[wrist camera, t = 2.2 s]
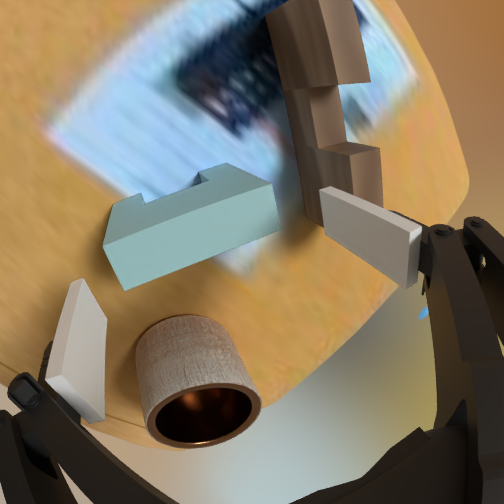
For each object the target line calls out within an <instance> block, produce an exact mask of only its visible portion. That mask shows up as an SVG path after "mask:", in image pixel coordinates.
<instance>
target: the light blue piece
mask: <svg viewBox="0 0 504 504" xmlns="http://www.w3.org/2000/svg"><path fill="white" fill-rule="evenodd" d="M199 175H200V179H201V182H202V183H201V184H198V185H195V186H192V187H190V188H187V189H184V190H181V191H178V192H176V193H173V194H170V195H168V196H165V197H162V198H160V199H157V200H154V201H152V202H149V203H146V204H145V202H144V199H143V196H142V193H139V194H136V195H134V196H131V197H129V198H126V199H124V200H121V201H119V202H117V203H114V204H113V207H112V211H111V214H110V218H109V222H108V226H107V230H106V234H105V238H104V242H103V249H104V251H105V253H106V255H107V257H108V259H109V261H110V263H111V266H112V268H113V270H114V272H115V274H116V276H117V278H118V280H119V281H120V283H121V285H122V287H123V289H124V291H126V290H129V289H131V288H134V287H136V286H139V285H141V284H144V283H146V282H149V281H151V280H154V279H156V278H159V277H161V276H164V275H166V274H169V273H171V272H174V271H177V270H179V269H182V268H184V267H187V266H189V265H192V264H194V263H197V262H200V261H202V260H205V259H207V258H210V257H212V256H215V255H218V254H220V253H223V252H225V251H228V250H230V249H233V248H236V247H238V246H241V245H243V244H246V243H249V242H251V241H254V240H256V239H259V238H262V237H264V236H267V235H269V234H272V233H275V232H277V231H280V230H281V227H280V222H279V217H278V212H277V207H276V202H275V197H274V192H273V187H272V184H271V183H269V182H267V181H265V180H263V179H261V178H259V177H257V176H255V175H252V174H250V173H248V172H246V171H244V170H242V169H239V168H237V167H235V166H233V165H231V164H228V163H224V164H221V165H218V166H215V167H212V168H209V169H206V170H203V171H200V172H199Z"/></svg>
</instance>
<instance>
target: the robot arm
mask: <svg viewBox="0 0 504 504" xmlns="http://www.w3.org/2000/svg"><path fill="white" fill-rule="evenodd" d="M319 193H320V200H321V208H322V215H323V223H324V231H325V235H327V236H328V237H330V238H331V239H333V240H334V241H336V242H337V243H339V244H340V245H342V246H343V247H345V248H346V249H348V250H349V251H351V252H352V253H354V254H355V255H357V256H358V257H360V258H361V259H363V260H364V261H366V262H367V263H369V264H370V265H371V266H373V267H374V268H376V269H377V270H379V271H380V272H381V273H383V274H384V275H386V276H387V277H389V278H390V279H391V280H393V281H394V282H396V283H397V284H398V285H400V286H401V287H403V288H404V289H405V290H406V289H407V288H409V287H411V286H412V285H414V284H415V283H417V278H418V270H419V271H420V272H422V273H423V274H424V280H423V288H422V295H424V292H426V298H427V304H428V310H429V317H430V324H431V331H432V339H433V348H434V358H435V371H436V388H437V414H436V418H435V422H434V428H433V429H431V430H428V431H425V432H424V431H423V430H422V429H421V428H420V427H418V428H417V429H416V430H414V431H413V432H412V433H411V434H409V435H408V436H407V437H405V438H404V439H402V440H401V441H400V442H398V443H397V444H396V445H394V446H393V447H391V448H390V449H389V450H388V451H387V452H386V453H385V454H384V456H383V457H382V458H381V459H380V460H379V461H378V462H377V463H376V464H375V465H374V466H373V467H372V468H371V469H370V470H369V471H368V472H367V473H366V474H365V475H364V476H363V477H361V478H359V479H357V480H354V481H350V482H347V483H344V484H340V485H337V486H333V487H330V488H326V489H322V490H318V491H316V492H314V493H312V494H310V495H308V496H305V497H303V498H301V499H299V500H296V501H294V502H292V503H290V504H504V357H503V355H502V351H501V348H500V344H499V341H498V337H497V335H498V336H499V338H500V340H501V342H502V344H503V346H504V237H503V236H502V235H501V234H500V233H499V232H498V231H496V230H495V229H494V228H493V227H492V226H491V225H490V224H489V223H488V222H487V221H485V220H484V219H481V218H480V217H475V216H473V217H467V218H465V219H464V226H463V229H459V230H455V229H454V228H452V227H450V226H448V225H444V224H436V225H433V226H430V227H428V226H426V225H424V224H422V223H420V222H417V221H415V220H413V219H410V218H409V217H407V216H404V215H402V214H400V213H398V212H395V211H390V210H386V209H384V208H382V207H379V206H377V205H375V204H372V203H370V202H368V201H365V200H363V199H361V198H358V197H356V196H354V195H351V194H349V193H346V192H344V191H341V190H339V189H336V188H334V187H331V186H329V187H326V188H323V189H320V190H319ZM483 257H485V262H486V265H485V266H484V265H483V264H482V262H483ZM106 330H107V318H106V316H105V315H104V313H103V311H102V310H101V308H100V306H99V305H98V303H97V301H96V299H95V298H94V296H93V294H92V293H91V291H90V289H89V287H88V285H87V284H86V282H85V280H84V278H81V279H78V280H76V281H74V282H71V284H70V287H69V290H68V293H67V296H66V300H65V303H64V306H63V309H62V313H61V316H60V319H59V323H58V326H57V330H56V334H55V338H54V341H51V342H50V343H49V344H48V346H47V348H46V349H45V352H44V356H43V361H42V364H41V368H40V372H39V377H38V382H37V381H36V380H35V379H34V378H33V377H32V376H31V374H29V373H28V372H23V373H21V374H19V375H18V376H16V377H15V378H14V379H13V380H12V382H11V383H10V385H9V387H8V392H7V394H8V398H9V399H10V400H11V401H12V402H13V403H14V404H15V405H16V406H17V407H18V408H20V409H21V410H22V411H21V412H19V413H18V414H16V415H14V416H12V415H11V414H10V413H9V412H8V411H6V410H0V483H1V486H2V490H3V493H4V497H5V500H6V503H7V504H78V503H77V501H76V499H75V498H74V496H73V494H72V492H71V490H70V488H69V486H68V484H67V482H66V480H65V478H64V476H63V474H62V471H61V469H60V467H59V465H58V464H60V466H61V467H62V469H63V470H64V471H65V472H66V473H67V475H68V476H69V477H70V478H71V479H72V480H73V482H74V483H75V484H76V485H77V486H78V487H79V489H80V490H81V491H82V492H83V493H84V494H85V495H86V496H87V497H88V498H89V499H90V500H91V501H92V502H93V503H94V504H179V503H177V502H176V501H174V500H173V499H171V498H170V497H168V496H167V495H165V494H164V493H162V492H161V491H160V490H158V489H157V488H155V487H154V486H152V485H151V484H150V483H148V482H147V481H146V480H144V479H143V478H142V477H140V476H139V475H138V474H136V473H135V472H134V471H132V470H131V469H130V468H129V467H128V466H126V465H125V464H124V463H123V462H121V461H120V460H119V459H118V458H117V457H116V456H114V455H113V454H112V453H111V452H110V451H109V450H108V449H107V448H105V447H104V446H103V445H102V444H101V443H100V442H99V441H98V440H97V439H96V438H95V437H93V435H91V434H90V433H89V432H88V431H87V430H86V429H85V428H84V427H83V426H82V425H81V424H80V421H81V417H82V418H83V419H85V420H86V421H87V422H88V423H89V424H91V423H95V422H99V421H103V420H105V398H104V378H105V346H106Z"/></svg>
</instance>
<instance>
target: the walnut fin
mask: <svg viewBox="0 0 504 504" xmlns="http://www.w3.org/2000/svg"><path fill="white" fill-rule="evenodd" d="M265 18H266V22H267V26H268V30H269V34H270V37H271V41H272V45H273V49H274V54H275V58H276V62H277V66H278V70H279V75H280V79H281V83H282V88H283V93H284V97H285V102H286V107H287V111H288V116H289V121H290V126H291V131H292V136H293V142H294V147H295V152H296V158H297V163H298V169H299V175H300V180H301V186H302V193H303V199H304V205H305V211H306V217H307V218H309V219H310V220H312V221H314V222H315V223H317V224H318V225H320V226H322V227H323V228H324V223H323V215H322V208H321V200H320V193H319V190H320V189H323V188H326V187H329V186H331V187H334V188H336V189H339V190H341V191H344V192H346V193H349V194H351V195H354V196H356V197H358V198H361V199H363V200H365V201H368V202H370V203H372V204H375V205H377V206H379V207H382V208H383V188H382V171H381V158H380V148H378V147H373V146H368V145H363V144H358V143H352V142H347V139H346V132H345V125H344V118H343V112H342V106H341V100H340V95H339V89H338V85H342V84H353V83H368V82H371V80H370V75H369V69H368V64H367V59H366V54H365V50H364V45H363V41H362V37H361V32H360V28H359V24H358V21H357V17H356V13H355V9H354V6H353V3H352V0H289V1H287V2H286V3H284V4H283V5H281V6H279V7H278V8H276V9H275V10H273V11H272V12H270V13H269V14H267V15H266V16H265Z"/></svg>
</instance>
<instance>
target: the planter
mask: <svg viewBox="0 0 504 504" xmlns="http://www.w3.org/2000/svg"><path fill="white" fill-rule="evenodd" d="M135 364H136V372H137V379H138V385H139V392H140V398H141V404H142V410H143V416H144V422H145V427H146V430H147V432H148V433H149V435H150V436H151V437H152V438H153V439H155V440H156V441H158V442H160V443H162V444H164V445H167V446H171V447H175V448H184V449H192V448H203V447H209V446H213V445H217V444H219V443H223V442H225V441H228V440H230V439H232V438H234V437H236V436H238V435H239V434H241V433H242V432H243V431H245V430H246V429H248V428H249V427H250V426H251V425H252V424H253V422H255V420H256V419H257V417H258V416H259V414H260V412H261V408H262V400H261V397H260V395H259V393H258V391H257V389H256V387H255V385H254V383H253V381H252V379H251V377H250V376H249V374H248V372H247V370H246V367H245V365H244V363H243V361H242V359H241V357H240V355H239V353H238V351H237V349H236V347H235V345H234V343H233V341H232V338H231V337H230V335H229V333H228V332H227V331H226V330H225V328H224V327H223V326H221V325H220V324H219V323H217V322H216V321H214V320H212V319H209V318H206V317H203V316H197V315H182V316H176V317H171V318H168V319H165V320H163V321H161V322H159V323H157V324H155V325H154V326H152V327H151V328H150V329H148V330H147V331H146V332H145V333H144V334H143V336H142V337H141V338H140V340H139V342H138V344H137V347H136V352H135Z"/></svg>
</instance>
